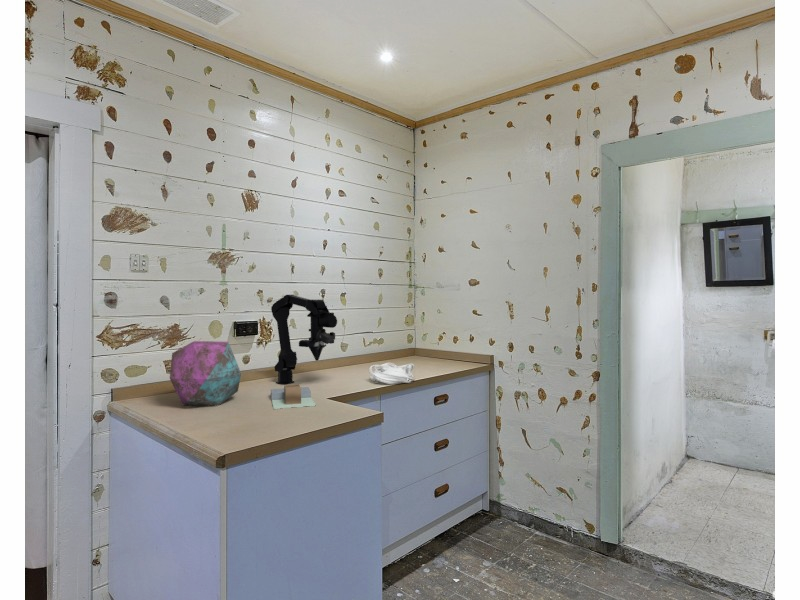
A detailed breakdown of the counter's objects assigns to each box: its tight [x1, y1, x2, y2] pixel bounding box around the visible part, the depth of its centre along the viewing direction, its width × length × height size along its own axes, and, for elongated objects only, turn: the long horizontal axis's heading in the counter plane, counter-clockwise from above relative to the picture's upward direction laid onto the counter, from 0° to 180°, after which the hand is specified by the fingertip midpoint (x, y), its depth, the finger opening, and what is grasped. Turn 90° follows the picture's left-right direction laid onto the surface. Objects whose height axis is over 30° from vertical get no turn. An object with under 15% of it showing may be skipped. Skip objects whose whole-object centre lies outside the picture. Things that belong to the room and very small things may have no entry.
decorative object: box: [169, 340, 242, 407], centre depth 194 cm, size 30×30×30 cm
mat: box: [271, 396, 316, 410], centre depth 193 cm, size 14×16×1 cm
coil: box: [368, 362, 415, 385], centre depth 239 cm, size 25×24×9 cm
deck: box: [270, 386, 312, 401], centre depth 204 cm, size 9×16×3 cm, turn 108°
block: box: [283, 383, 302, 405], centre depth 195 cm, size 6×6×9 cm
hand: (317, 360), depth 222 cm, fingers closed
